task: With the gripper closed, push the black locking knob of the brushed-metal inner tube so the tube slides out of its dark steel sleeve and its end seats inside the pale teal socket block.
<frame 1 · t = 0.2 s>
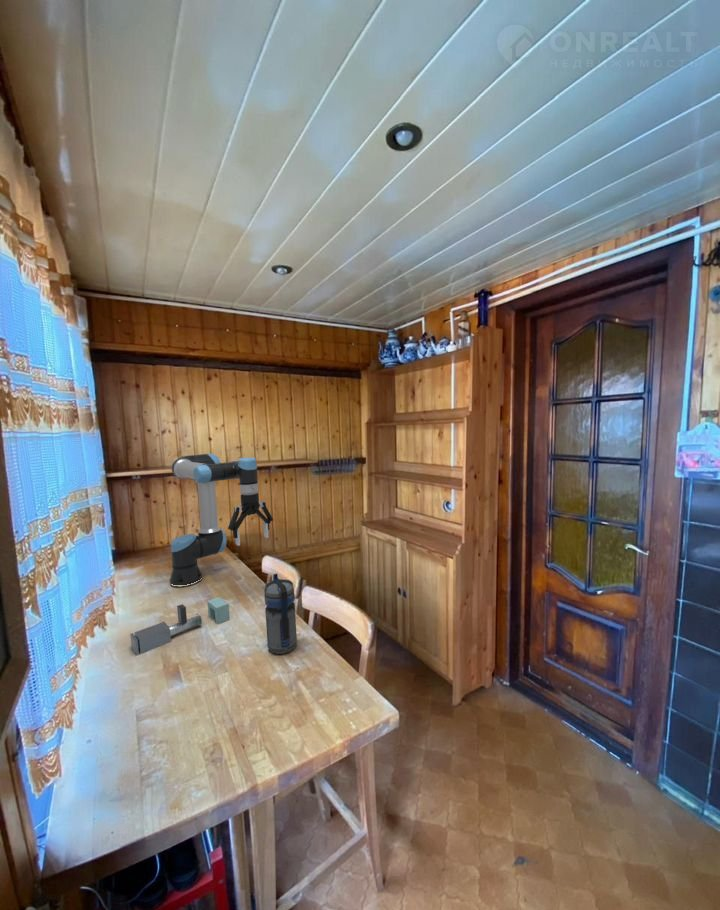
hand: (252, 541, 164), 28 cm above the table, fingers open, 13 cm apart
beverage bottle: (283, 648, 131), on the table
socket block: (219, 618, 154), on the table
outer sleeve: (153, 644, 137), on the table
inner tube: (169, 623, 140), point 5 cm above the table, slide at 0.0 cm
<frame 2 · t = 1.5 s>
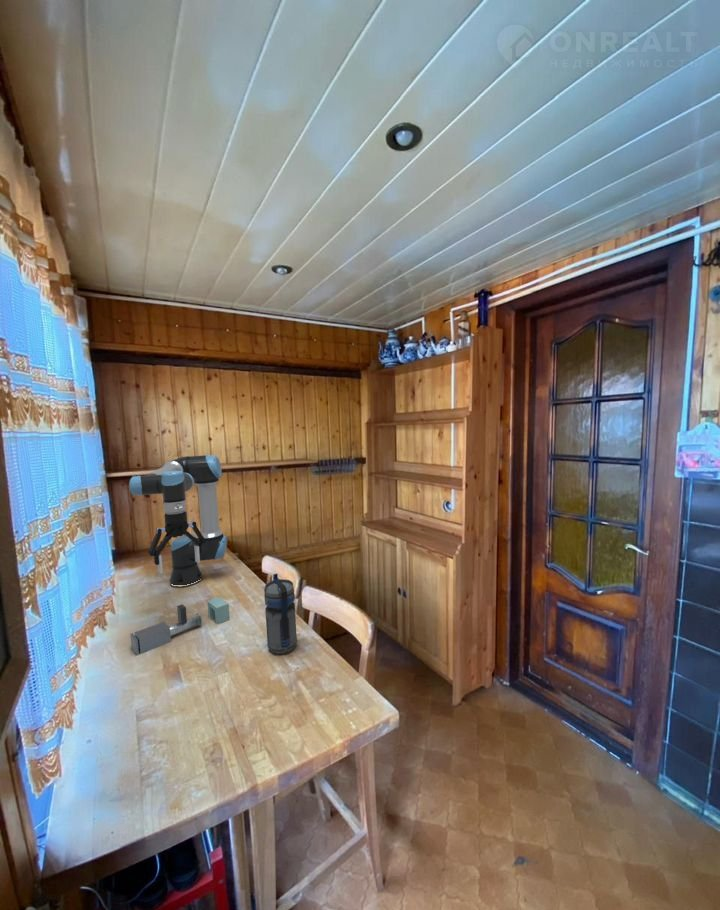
hand: (179, 567, 142), 26 cm above the table, fingers open, 13 cm apart
nothing on the table moved.
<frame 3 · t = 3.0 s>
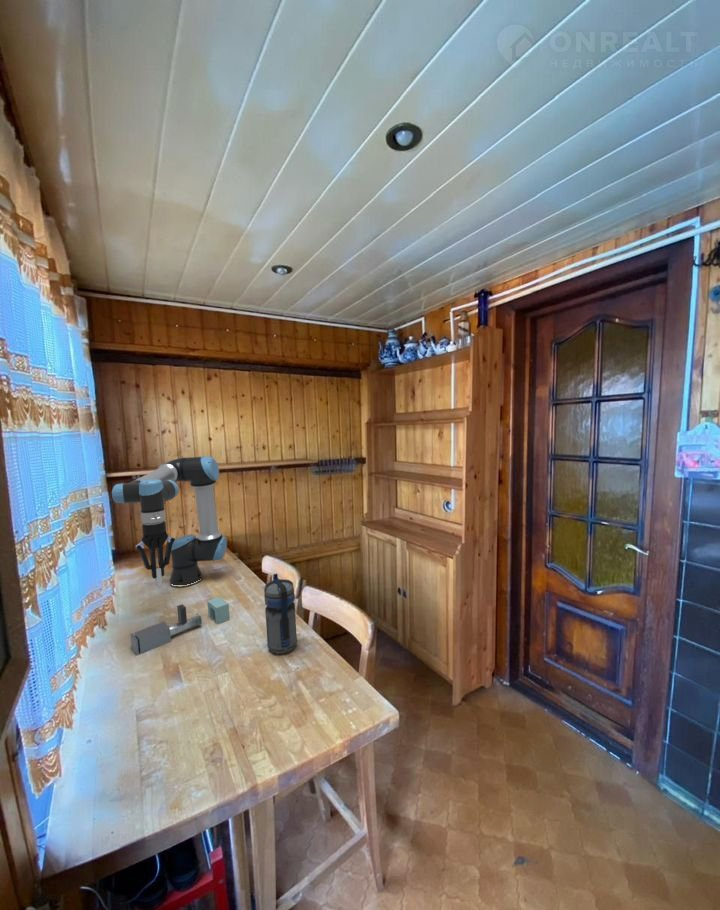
hand: (158, 585, 137), 21 cm above the table, fingers closed
nothing on the table moved.
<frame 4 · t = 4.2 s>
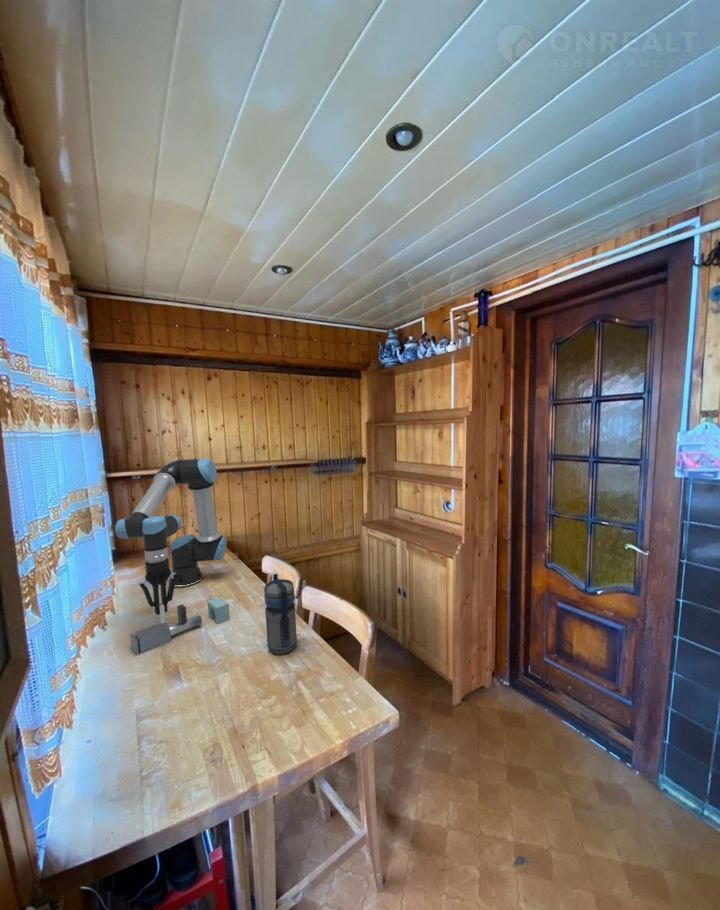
hand: (162, 621, 138), 7 cm above the table, fingers closed
nothing on the table moved.
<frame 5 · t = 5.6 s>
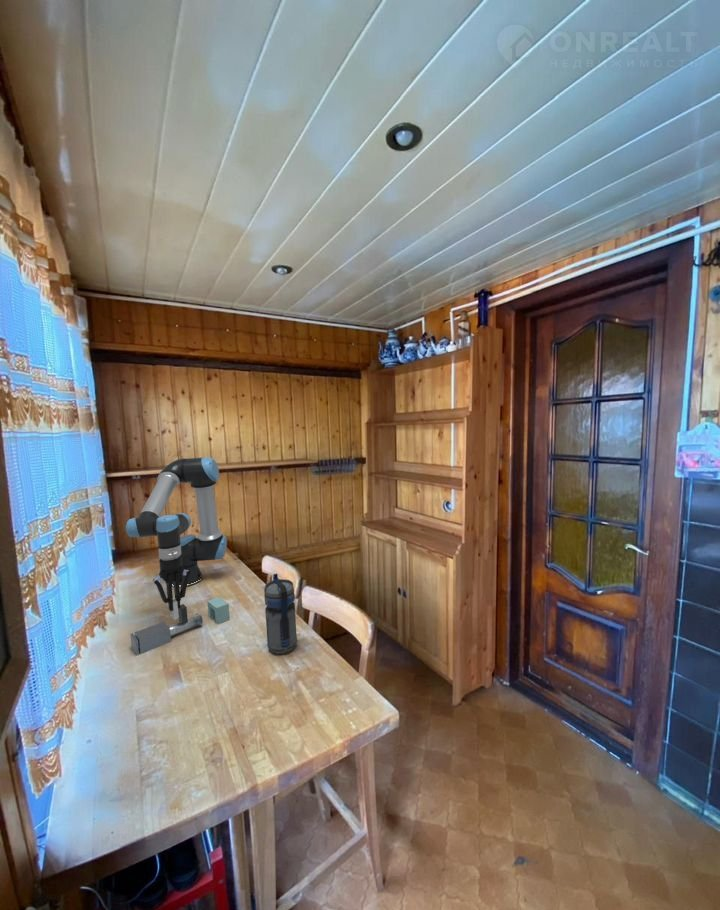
hand: (175, 617, 142), 7 cm above the table, fingers closed
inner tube: (170, 623, 141), point 5 cm above the table, slide at 0.3 cm, touching gripper
everything else where it was.
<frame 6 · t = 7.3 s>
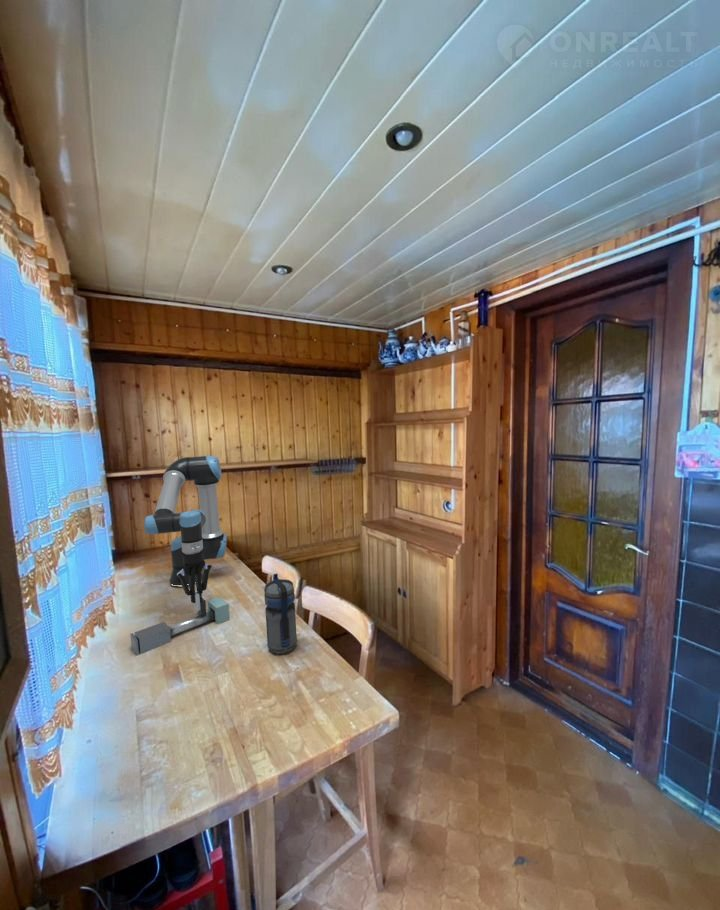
hand: (197, 609, 147), 7 cm above the table, fingers closed
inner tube: (190, 615, 146), point 5 cm above the table, slide at 7.5 cm, touching gripper
everything else where it was.
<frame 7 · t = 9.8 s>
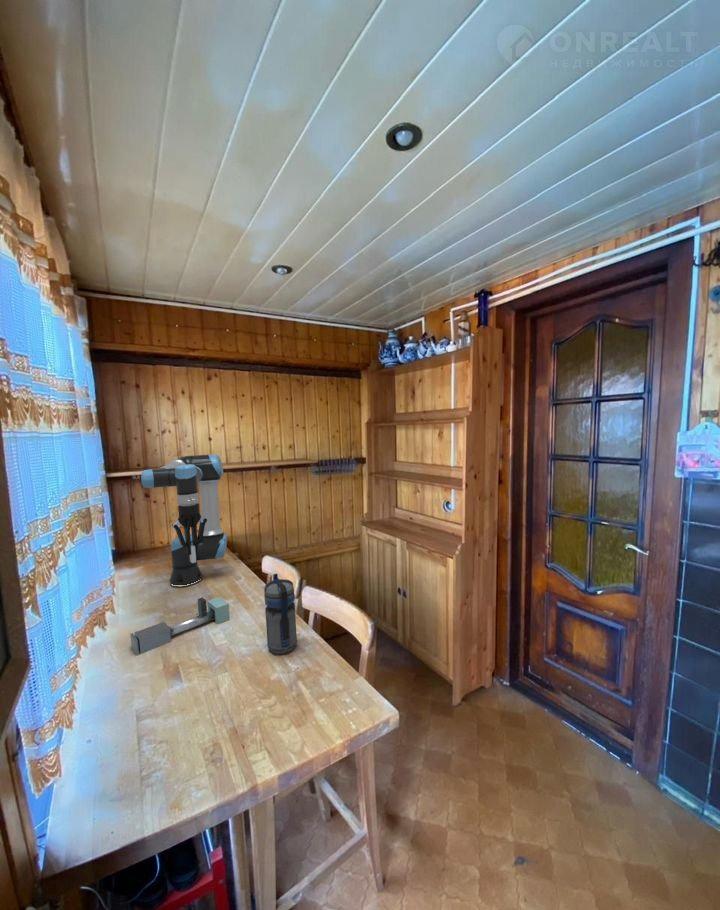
hand: (193, 561, 150), 25 cm above the table, fingers closed
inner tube: (190, 615, 146), point 5 cm above the table, slide at 7.7 cm
everything else where it was.
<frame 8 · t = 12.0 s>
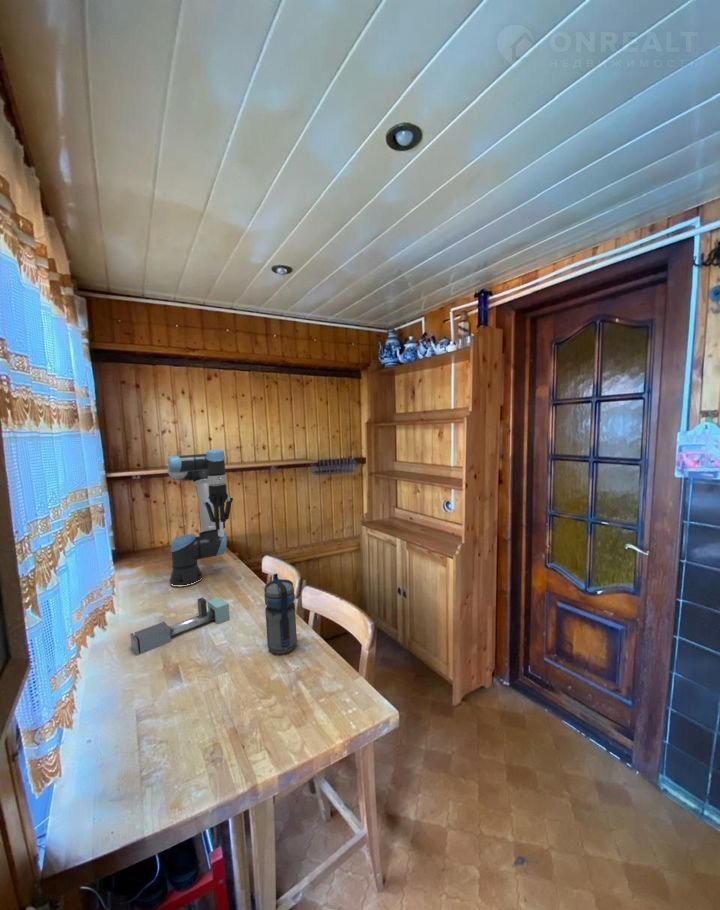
hand: (221, 536, 169), 29 cm above the table, fingers closed
nothing on the table moved.
at the end: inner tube slide at 7.7 cm; the gripper is holding nothing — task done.
